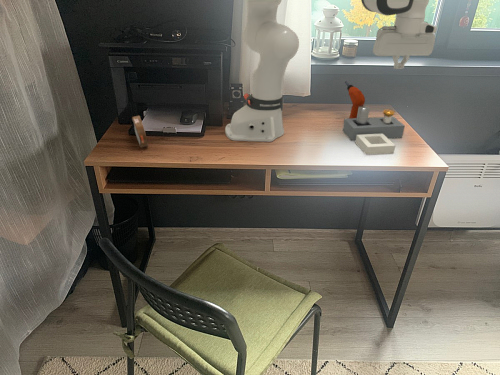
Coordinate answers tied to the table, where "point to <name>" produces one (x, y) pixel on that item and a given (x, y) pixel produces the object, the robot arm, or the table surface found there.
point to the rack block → (375, 144)
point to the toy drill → (355, 99)
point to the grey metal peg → (362, 115)
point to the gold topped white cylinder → (387, 116)
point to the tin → (140, 131)
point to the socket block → (373, 128)
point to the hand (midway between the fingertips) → (398, 68)
